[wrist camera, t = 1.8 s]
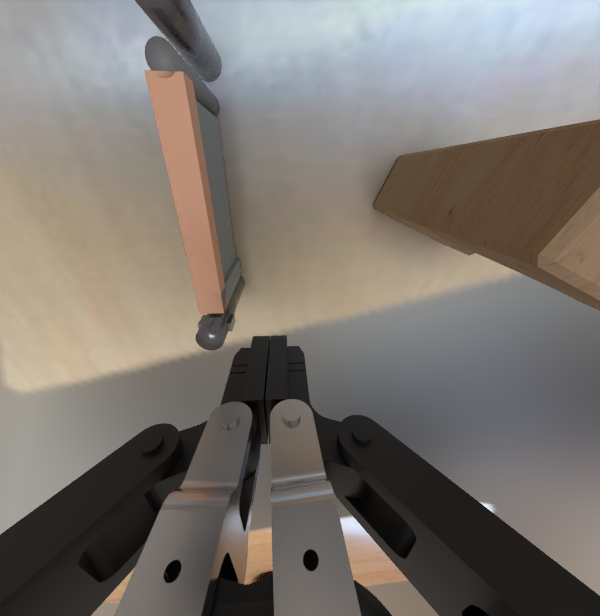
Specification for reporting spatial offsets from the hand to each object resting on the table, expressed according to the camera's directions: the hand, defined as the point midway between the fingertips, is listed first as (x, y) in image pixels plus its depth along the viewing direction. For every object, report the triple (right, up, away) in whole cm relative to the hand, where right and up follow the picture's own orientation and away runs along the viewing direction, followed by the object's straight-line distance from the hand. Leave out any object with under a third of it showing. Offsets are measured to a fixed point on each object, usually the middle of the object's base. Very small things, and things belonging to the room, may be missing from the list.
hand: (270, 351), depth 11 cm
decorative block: (+15, +14, +16) cm, 26 cm away
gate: (-7, +13, +13) cm, 20 cm away
